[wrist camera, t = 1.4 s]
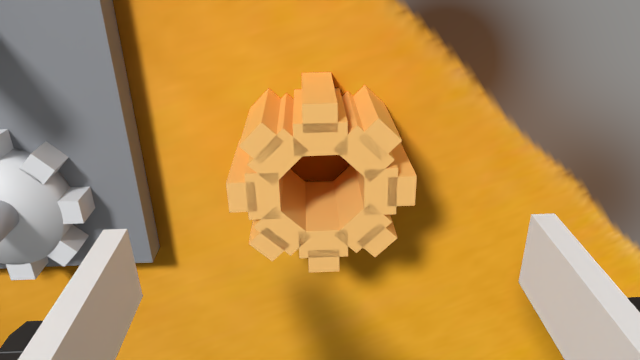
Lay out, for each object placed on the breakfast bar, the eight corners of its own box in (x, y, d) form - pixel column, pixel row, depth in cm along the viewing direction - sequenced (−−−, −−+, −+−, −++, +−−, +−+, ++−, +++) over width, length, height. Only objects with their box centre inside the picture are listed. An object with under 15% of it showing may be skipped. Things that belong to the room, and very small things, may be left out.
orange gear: (393, 214, 28) (411, 268, 23) (247, 220, 28) (236, 275, 23) (399, 69, 24) (421, 100, 20) (232, 75, 24) (217, 107, 20)
